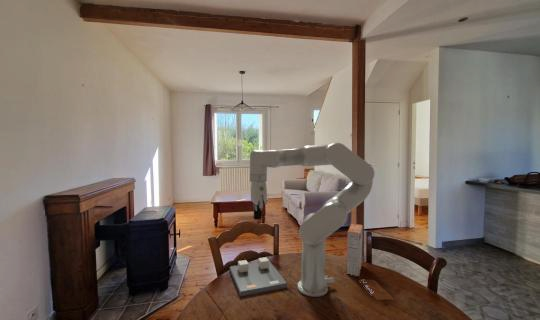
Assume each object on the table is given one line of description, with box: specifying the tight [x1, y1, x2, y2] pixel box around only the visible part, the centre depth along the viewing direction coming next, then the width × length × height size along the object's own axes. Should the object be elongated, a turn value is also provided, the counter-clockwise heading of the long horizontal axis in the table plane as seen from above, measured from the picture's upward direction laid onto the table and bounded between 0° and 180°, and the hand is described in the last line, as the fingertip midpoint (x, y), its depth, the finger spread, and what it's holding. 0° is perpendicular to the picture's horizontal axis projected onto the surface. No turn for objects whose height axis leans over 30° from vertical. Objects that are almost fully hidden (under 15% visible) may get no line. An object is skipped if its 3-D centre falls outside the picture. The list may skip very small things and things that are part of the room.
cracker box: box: [346, 223, 364, 277], centre depth 120 cm, size 14×6×21 cm, turn 154°
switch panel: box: [229, 260, 288, 297], centre depth 110 cm, size 20×22×2 cm
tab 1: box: [237, 259, 250, 272], centre depth 113 cm, size 4×4×4 cm
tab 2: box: [257, 256, 270, 269], centre depth 116 cm, size 4×4×4 cm
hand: (257, 218), depth 109 cm, fingers closed
